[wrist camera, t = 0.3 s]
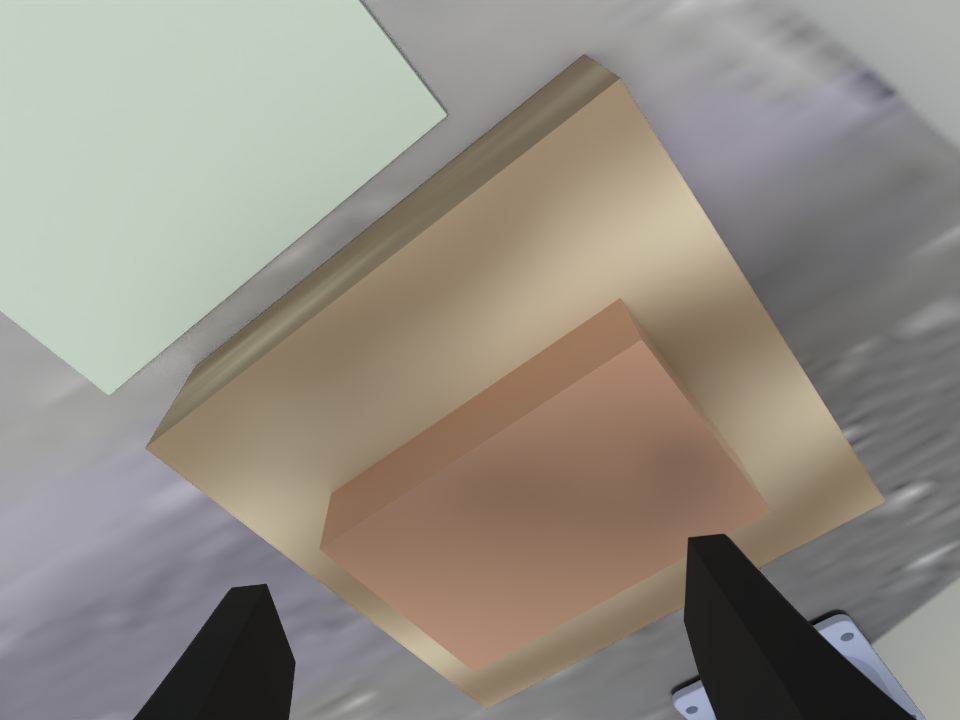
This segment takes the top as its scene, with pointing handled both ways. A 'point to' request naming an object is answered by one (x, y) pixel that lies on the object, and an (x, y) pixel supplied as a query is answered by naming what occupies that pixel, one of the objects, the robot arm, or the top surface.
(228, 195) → the sage mat
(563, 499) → the terracotta tile
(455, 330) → the oak board
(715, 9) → the top surface
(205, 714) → the robot arm
